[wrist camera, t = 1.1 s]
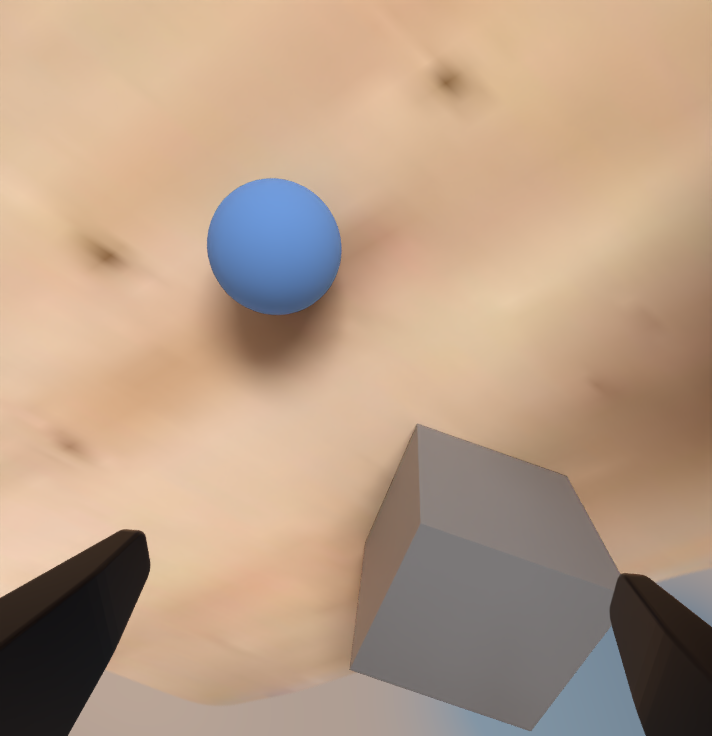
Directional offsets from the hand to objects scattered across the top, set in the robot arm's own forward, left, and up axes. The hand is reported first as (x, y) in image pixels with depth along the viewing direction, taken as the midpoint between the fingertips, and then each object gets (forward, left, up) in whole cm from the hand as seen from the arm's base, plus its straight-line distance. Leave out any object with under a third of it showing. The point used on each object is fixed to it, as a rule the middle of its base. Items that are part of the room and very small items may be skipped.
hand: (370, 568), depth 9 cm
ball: (+6, -3, -11) cm, 13 cm away
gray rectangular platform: (-6, +7, -14) cm, 16 cm away
